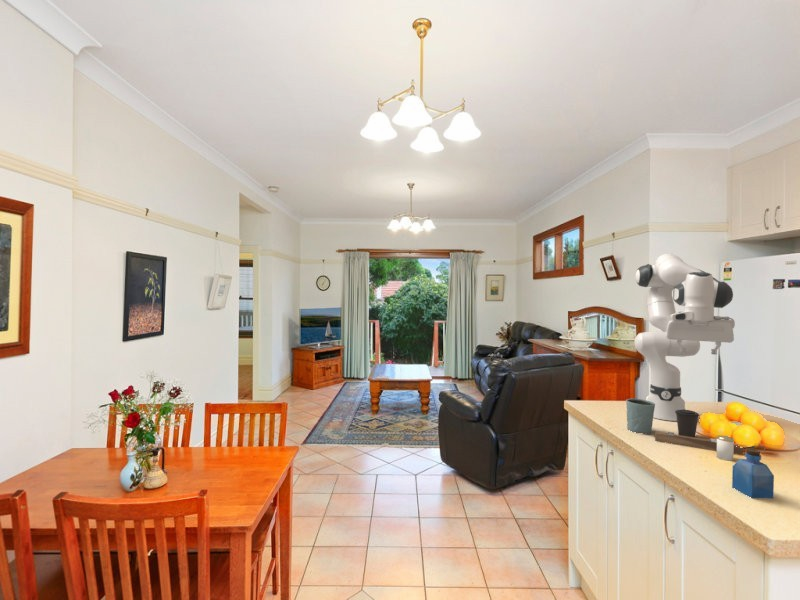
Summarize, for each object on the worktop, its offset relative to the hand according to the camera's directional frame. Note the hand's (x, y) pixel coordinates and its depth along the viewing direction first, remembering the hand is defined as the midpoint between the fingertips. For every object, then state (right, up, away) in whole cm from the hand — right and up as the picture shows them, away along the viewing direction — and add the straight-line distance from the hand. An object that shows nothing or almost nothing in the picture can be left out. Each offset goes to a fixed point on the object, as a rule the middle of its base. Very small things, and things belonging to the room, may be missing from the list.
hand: (698, 353), depth 152 cm
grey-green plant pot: (-12, -34, +16) cm, 40 cm away
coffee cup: (+3, -34, +11) cm, 36 cm away
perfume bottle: (-12, -34, -37) cm, 52 cm away
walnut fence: (-2, -34, -2) cm, 34 cm away
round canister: (+1, -34, -12) cm, 36 cm away
